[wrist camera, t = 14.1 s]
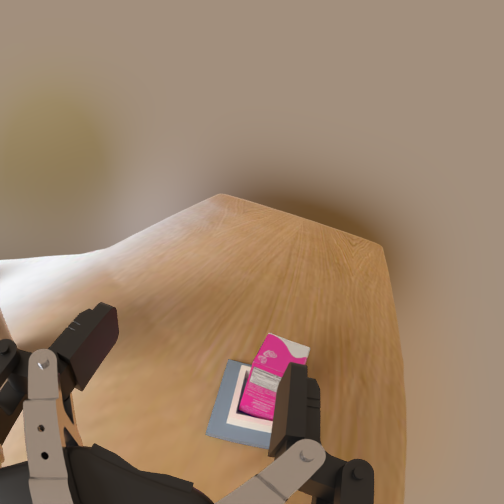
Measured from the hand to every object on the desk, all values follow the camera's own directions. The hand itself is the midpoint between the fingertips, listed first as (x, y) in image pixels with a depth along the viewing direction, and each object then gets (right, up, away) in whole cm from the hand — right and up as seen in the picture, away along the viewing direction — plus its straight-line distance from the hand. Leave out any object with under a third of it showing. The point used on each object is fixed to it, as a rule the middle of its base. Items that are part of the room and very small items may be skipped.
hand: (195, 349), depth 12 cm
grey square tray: (+4, -18, +25) cm, 32 cm away
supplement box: (+4, -18, +25) cm, 31 cm away
